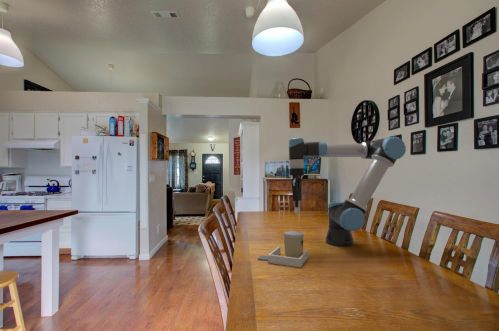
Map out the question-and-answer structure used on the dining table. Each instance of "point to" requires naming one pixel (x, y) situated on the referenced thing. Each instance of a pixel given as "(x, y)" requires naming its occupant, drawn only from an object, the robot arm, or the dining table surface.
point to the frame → (287, 258)
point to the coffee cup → (293, 244)
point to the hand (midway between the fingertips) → (297, 213)
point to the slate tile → (263, 258)
